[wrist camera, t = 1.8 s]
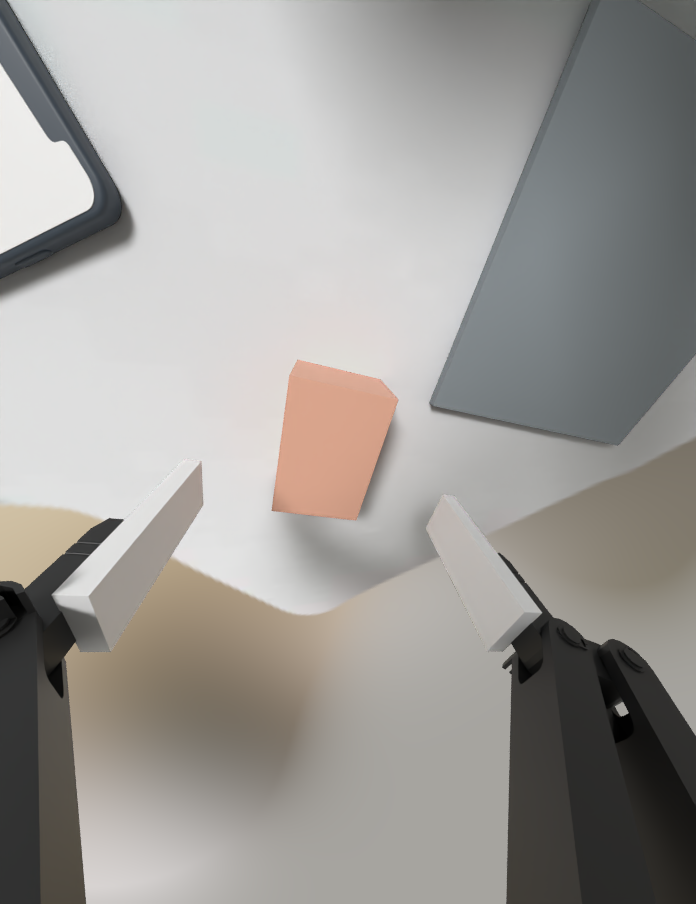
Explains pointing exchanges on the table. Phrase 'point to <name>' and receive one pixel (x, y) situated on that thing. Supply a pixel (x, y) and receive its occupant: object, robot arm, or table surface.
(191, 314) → the table surface
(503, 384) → the mat
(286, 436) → the card box
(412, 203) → the table surface
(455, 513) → the robot arm
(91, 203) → the smartphone
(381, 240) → the table surface
